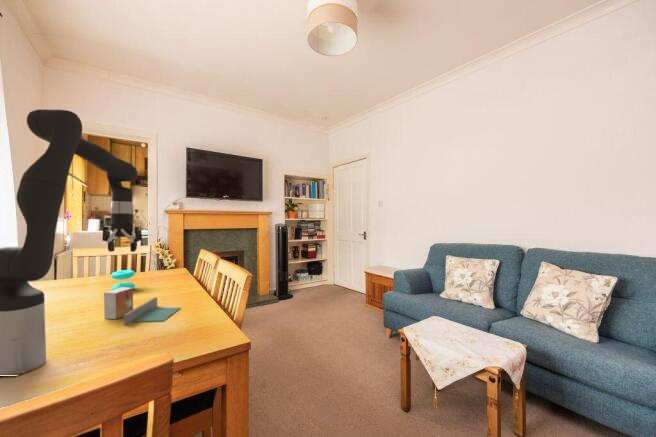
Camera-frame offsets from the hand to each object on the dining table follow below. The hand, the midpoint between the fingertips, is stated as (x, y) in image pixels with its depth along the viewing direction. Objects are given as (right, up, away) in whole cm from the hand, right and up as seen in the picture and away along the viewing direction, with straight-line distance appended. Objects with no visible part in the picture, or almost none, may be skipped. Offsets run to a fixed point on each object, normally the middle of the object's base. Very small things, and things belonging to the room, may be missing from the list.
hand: (122, 251), depth 116 cm
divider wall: (+10, -26, -2) cm, 28 cm away
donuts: (-22, -25, +31) cm, 46 cm away
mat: (+16, -26, -2) cm, 30 cm away
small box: (+1, -26, -2) cm, 26 cm away
